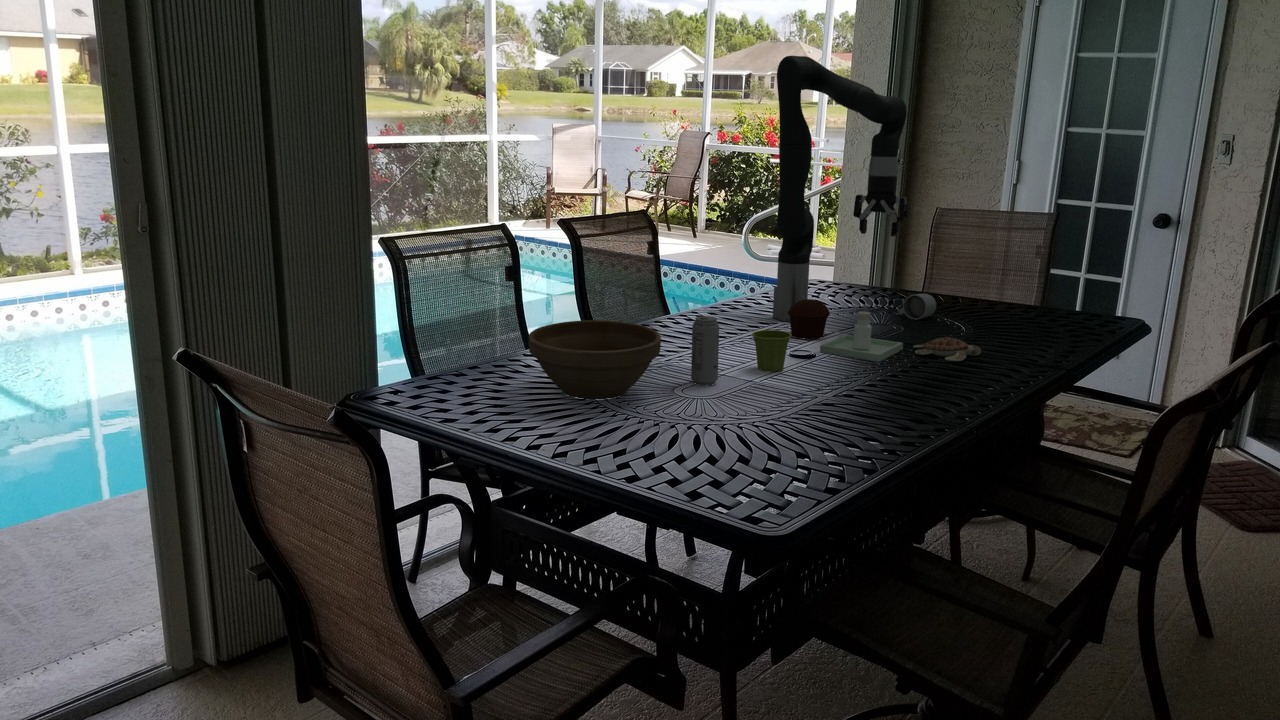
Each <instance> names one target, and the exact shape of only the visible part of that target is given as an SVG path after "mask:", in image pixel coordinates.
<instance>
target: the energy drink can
mask: <svg viewBox="0 0 1280 720" xmlns="http://www.w3.org/2000/svg"><path fill="white" fill-rule="evenodd" d="M694 319H695V320H694V322H693V324H692V329H691V373H690V375H691V376H690V379H691V380H692V382H693V384H694V383H696V384H699V385H698V386H700V385H710V386H713V385H712V384H714V383H715V384H716V382H717V381H718V379H719V378H718V377H719V353H720V352H719V349H720V347H719V346H720V325H719V323H718V321H717V319H718V318H717V317H714V316H711V315H709V316H708V315H707V316H706V315H702V316H696V317H695V318H694ZM696 384H695V385H696ZM715 384H714V385H715Z"/></svg>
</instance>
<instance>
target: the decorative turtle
mask: <svg viewBox="0 0 1280 720" xmlns="http://www.w3.org/2000/svg"><path fill="white" fill-rule="evenodd" d="M912 348H914V349H917V350H914V353H915V354H917V355H923V356H924V355H934V356H937V357H942V358H944V360H945V361H946V362H947V361H948V362H961V361H964V360H965V359H967V356H972V357H973V356H979V355H980V354H981V353H982V349H981V348H980V347H979V346H978V345H973V344H972V345H970V344H968V343H967V342H965V341H963V340H961V339H959V338H954V337H950V336H949V337H948V336H945V337H939V338H935V339H933V340H930V341H927V342H926V343H924V344H915V345H913V346H912Z"/></svg>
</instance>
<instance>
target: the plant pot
mask: <svg viewBox="0 0 1280 720" xmlns="http://www.w3.org/2000/svg"><path fill="white" fill-rule="evenodd" d="M751 336H752V337H753V341H754V344H755V351H756V353H755V354H756V362H757V363H756V364H757V369H758V370H760V371H762V372H768V373H775V372H776V371H778V372H781V371H783V370H784V368H785V367H784V366H785V360H786V355H787V349H788V345H789V343H790V339H791V338H792V337H793V336H792V335H791V332H787V331H783V330H775V329H774V330H773V329H767V330H766V329H762V330H756V331H754V332H752V333H751Z"/></svg>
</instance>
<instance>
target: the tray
mask: <svg viewBox="0 0 1280 720" xmlns="http://www.w3.org/2000/svg"><path fill="white" fill-rule="evenodd" d="M853 341H854V334H853V335H852V334H848V333H847V334H844V335H842V336H839V337H837V338H834V339H832V340H830V341H827V342H824V343H823V344H820V346H819V353H823V354H830V355H835V354H836V356H841V355H842V356H841V357H847V356H849V357H848V358H853V357H854V358H853V359H860V360H866V361H871V362H878V363H879V362H881V361H883V360H886V359H887V358H889V357H891V356H893V355H895V354H897V353H900V352H901V351H903V349H904V342H900V341H893V340H887V339H878V338H872V337H871V343H870V349H869V350H856V349H855V348H854V345H853ZM900 350H901V351H900Z"/></svg>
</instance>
